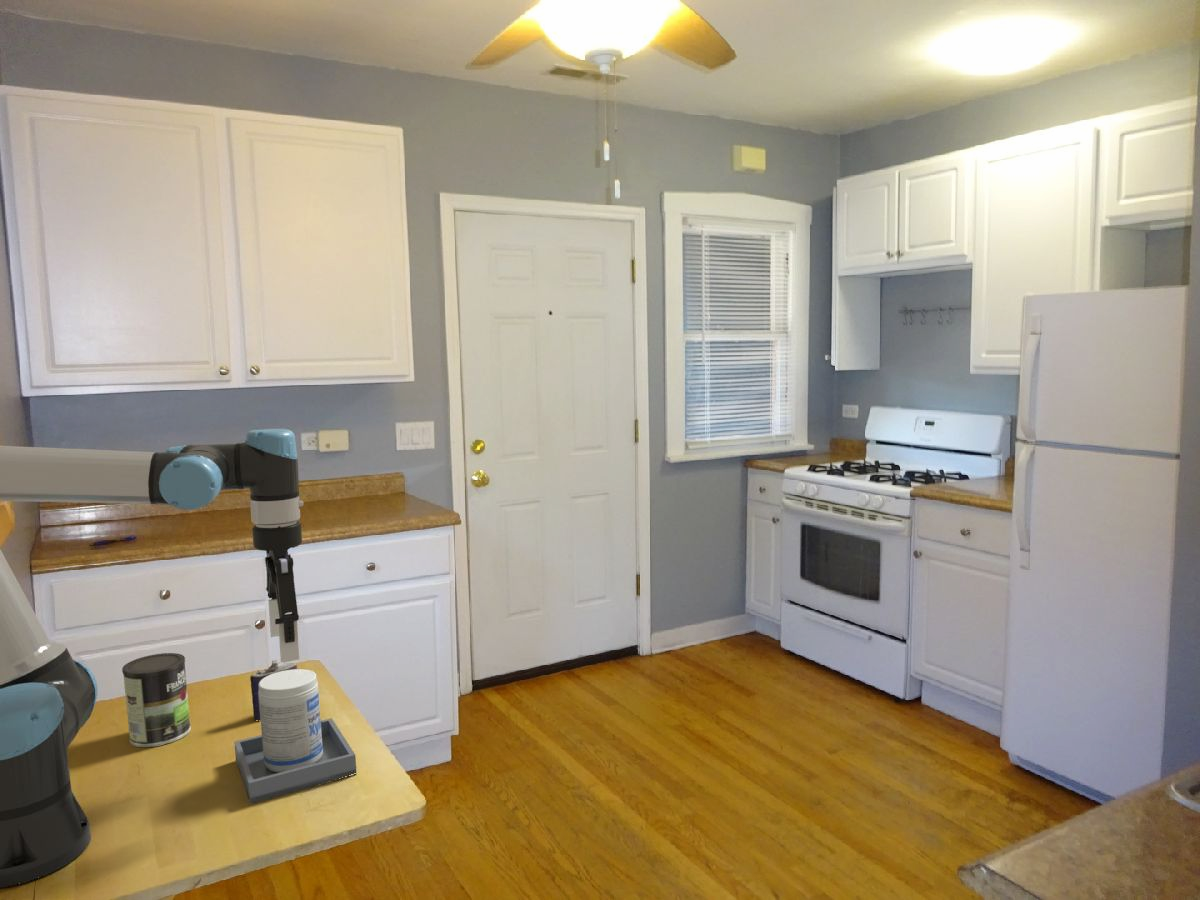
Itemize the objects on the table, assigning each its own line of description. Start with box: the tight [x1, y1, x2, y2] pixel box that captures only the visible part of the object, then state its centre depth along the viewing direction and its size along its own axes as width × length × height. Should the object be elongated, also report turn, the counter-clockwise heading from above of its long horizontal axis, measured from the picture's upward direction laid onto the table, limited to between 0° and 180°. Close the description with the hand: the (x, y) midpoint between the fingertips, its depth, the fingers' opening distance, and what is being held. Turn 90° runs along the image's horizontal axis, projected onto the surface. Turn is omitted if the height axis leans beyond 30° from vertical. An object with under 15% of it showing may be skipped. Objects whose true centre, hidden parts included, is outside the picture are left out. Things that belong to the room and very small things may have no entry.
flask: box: [249, 659, 298, 722], centre depth 163 cm, size 9×3×11 cm, turn 136°
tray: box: [234, 717, 357, 805], centre depth 142 cm, size 17×17×4 cm
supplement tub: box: [258, 668, 323, 773], centre depth 141 cm, size 10×10×15 cm
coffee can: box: [121, 652, 192, 748], centre depth 155 cm, size 10×10×14 cm
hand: (284, 647), depth 140 cm, fingers open, 13 cm apart
